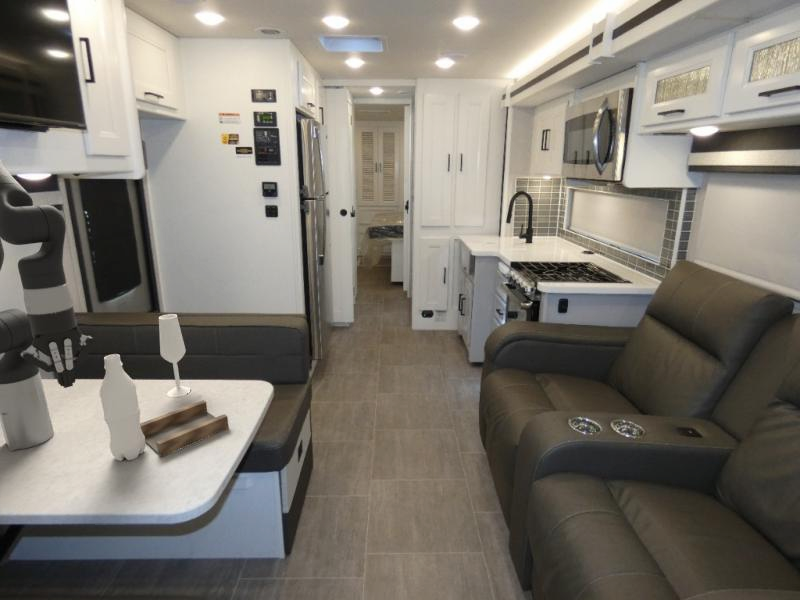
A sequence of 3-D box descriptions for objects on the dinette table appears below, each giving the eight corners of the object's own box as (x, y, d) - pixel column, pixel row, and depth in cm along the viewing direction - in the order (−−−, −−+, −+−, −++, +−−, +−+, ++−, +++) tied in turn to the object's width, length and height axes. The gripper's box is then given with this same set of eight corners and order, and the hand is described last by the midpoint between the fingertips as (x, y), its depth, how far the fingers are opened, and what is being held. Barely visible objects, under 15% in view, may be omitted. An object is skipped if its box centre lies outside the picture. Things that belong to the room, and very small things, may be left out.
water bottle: (132, 465, 107) (113, 364, 100) (105, 462, 108) (84, 361, 101) (154, 448, 114) (137, 351, 107) (128, 444, 115) (110, 349, 108)
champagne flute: (189, 385, 147) (179, 311, 140) (192, 393, 141) (181, 317, 134) (166, 390, 143) (154, 315, 137) (168, 399, 138) (155, 321, 131)
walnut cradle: (161, 457, 110) (159, 444, 109) (139, 436, 118) (137, 424, 117) (228, 428, 122) (227, 416, 121) (204, 411, 131) (203, 400, 130)
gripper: (82, 297, 101) (97, 371, 106) (4, 311, 92) (24, 391, 97) (93, 303, 96) (108, 380, 101) (12, 318, 87) (33, 403, 92)
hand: (67, 385), depth 99 cm, fingers closed
